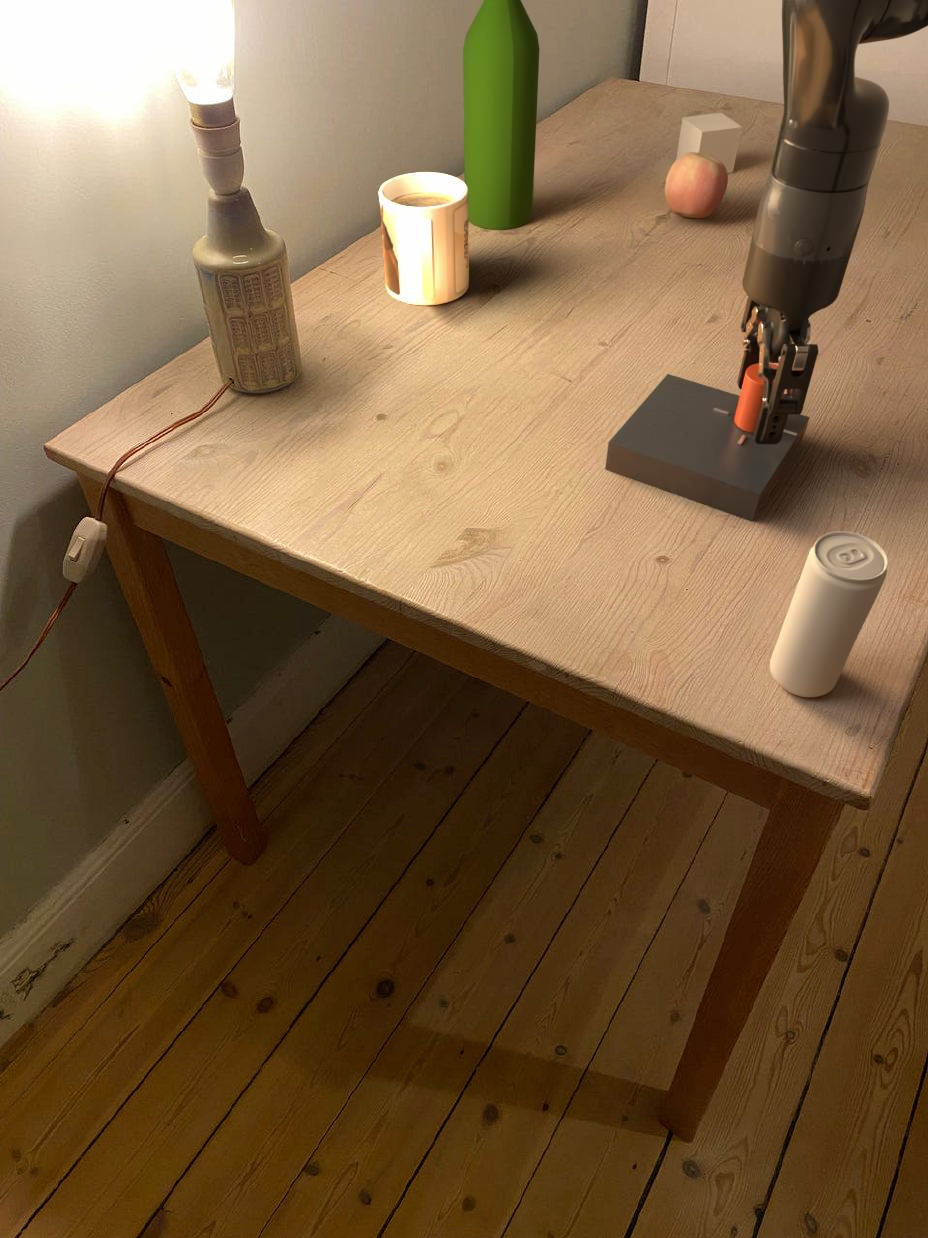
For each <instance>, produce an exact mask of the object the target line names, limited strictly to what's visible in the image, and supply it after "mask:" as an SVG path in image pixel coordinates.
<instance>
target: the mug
mask: <svg viewBox="0 0 928 1238" xmlns="http://www.w3.org/2000/svg"><path fill="white" fill-rule="evenodd" d="M378 204H379V215H380V217H379V218H380V229H381V241H382V254H383V267H384V280H385V289H386V291H387V293H388V294H389V295H390V296H391V297H392V298H394V299H396V300H397V301H399V302H401V303H404V304H409V305H415V306H435V305H443V304H446V303H450V302H452V301H454V300H457V299H459V298H460V297H462V296H463V295H464V294H466V292H467V291H468V289H469V287H470V245H469V244H470V242H469V241H470V237H469V236H470V235H469V234H470V233H469V231H470V230H469V229H470V228H469V227H470V226H469V223H470V222H469V214H468V187H467V185H466V184H465V183H464V180H462V179H460V178H458V177H456V176H453V175H451V174H447V173H441V172H431V171H419V172H411V173H410V172H409V173H405V174H400V175H397V176H395V177H392V178H390V179H388V180H386V181H385V182H383V183H382V184H381V186H380V188H379V189H378Z"/></svg>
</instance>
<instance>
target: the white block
mask: <svg viewBox="0 0 928 1238" xmlns="http://www.w3.org/2000/svg"><path fill="white" fill-rule="evenodd" d="M742 128H743V127H742V126H741V125H740V124H738V123H737V122H735V121H734V120H733V119H731V118H729V116H727V115H725V114H724V113H722V112H715V113H707V114H698V115H697V114H696V115H690V116H689V115H688V116H682V120H681V125H680V133H679V139H678V146H677V153H676V159H675V161H676V160H677V159H678V158H679V157H680V156H682V155H684V154H686V153H689V152H697V153H704V154H708V155H710V156H712V157H714V158H716V159H718V160H720V161H721V162H722V163H723V164H724V166H725V167H726V170H727V174H730V173H734V169H735V164H736V163H735V162H736V159H737V153H738V148H739V143H740V138H741V134H742Z"/></svg>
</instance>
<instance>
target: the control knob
mask: <svg viewBox="0 0 928 1238" xmlns="http://www.w3.org/2000/svg"><path fill="white" fill-rule="evenodd" d="M769 365H770V367H771V368H773V369H777V368H778V364H777V365H776V364H774V363H769ZM758 370H759V363H758V364H754V365H751V366H749V367H748V368H747V370H746V373H745V377H744V381H743V385H742V389H740V394H739V396H740V397H739V402H738V406H737V410H736V414H735V418H734V421H735V424H736V425H737V426H738V427H739V428H740V429H742V430H744V431H746V432H749V433H754V432H755V428H756V424H757V420H758V417H759V413H760V409H761V405H762V398H763V386H764V382H763V380H761V379H760V378H759V376H758ZM774 380H775V379H774ZM773 384H774V381H773ZM785 392H786V389H785V390H784V391H783V392H782V394H785Z"/></svg>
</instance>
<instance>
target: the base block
mask: <svg viewBox="0 0 928 1238" xmlns="http://www.w3.org/2000/svg"><path fill="white" fill-rule="evenodd" d="M739 397H740V394H739V395H738V394H735V393H732V392H729V391H725V390H723V389H719V388H715V387H712V386H709V385H706V384H702V383H698V382H696V381H693V380H690V379H686V378H682V377H680V376H676V375H673V374H669V373H666V375H665V376H664V377H663V379H662V380H660V382H659V383H658V384H657V386H656V387H655V388H654V389H653V390H652V391H651V392H650V394H649V395H648V396H647V397H646V398H645V399H644V401H642V403H641V404H640V405H639V406H638V408H636V410H635V411H634V412H633V413H632V414H631V415H630V416H629V418H628V419H627V420H626V421H625V422H624V423H623V425H622V426H621V427H620V428H619V429H618V430H617V432H616V433H615V434H614V435H613V436H612V438H611V439H610V440H609V441H608V444H607V452H606V459H605V467H604V468H605V470H607V471H610V472H613V473H615V474H619V475H621V476H624V477H627V478H630V479H633V480H635V481H638V482H641V483H643V484H647V485H648V486H652V487H655V488H658V489H661V490H664V491H666V492H668V493H672V494H675V495H678V496H680V497H683V498H686V499H689V500H691V501H694V502H697V503H700V504H702V505H706V506H708V507H711V508H713V509H716V510H719V511H721V512H725V513H728V514H730V515H733V516H736V517H739V518H742V519H744V520H747V521H750V522H754V520H755V518H756V517H757V515H758V514H759V512H760V510H761V509H762V507H763V506H764V504H765V503H766V501H767V499H768V498H769V496H770V495H771V493H772V491H773V490H774V488H775V486H776V485H777V484H778V482H779V480H780V479H781V477H782V475H783V474H784V472H785V471H786V469H787V468H788V466H789V464H790V463H791V462H792V459H794V456H795V455H796V453H797V452H798V450H799V448H800V447H801V445H802V443H803V441H804V437H805V434H806V431H807V427H808V424H809V421H810V416H807V415H804V414H802V413H801V414H788V417H787V421H786V424H785V428H784V431H783V435H782V438H781V441H780V442H779V443H778V444H757V443H756V442H755V439H754V433H749V432H746V431H744V430H742V429H740V428H739V427H738V426H737V425H736V424H735V421H734V418H735V414H736V410H737V406H738V402H739Z"/></svg>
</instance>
